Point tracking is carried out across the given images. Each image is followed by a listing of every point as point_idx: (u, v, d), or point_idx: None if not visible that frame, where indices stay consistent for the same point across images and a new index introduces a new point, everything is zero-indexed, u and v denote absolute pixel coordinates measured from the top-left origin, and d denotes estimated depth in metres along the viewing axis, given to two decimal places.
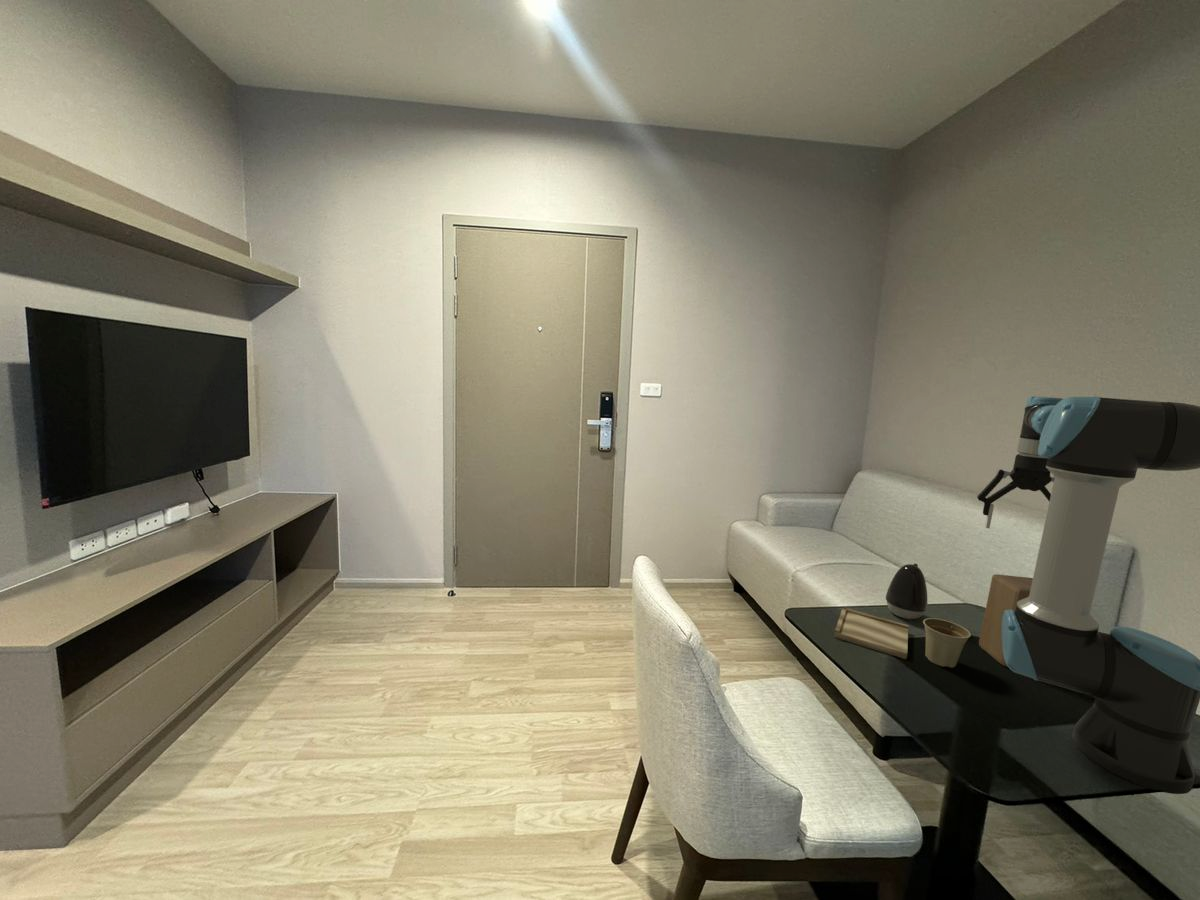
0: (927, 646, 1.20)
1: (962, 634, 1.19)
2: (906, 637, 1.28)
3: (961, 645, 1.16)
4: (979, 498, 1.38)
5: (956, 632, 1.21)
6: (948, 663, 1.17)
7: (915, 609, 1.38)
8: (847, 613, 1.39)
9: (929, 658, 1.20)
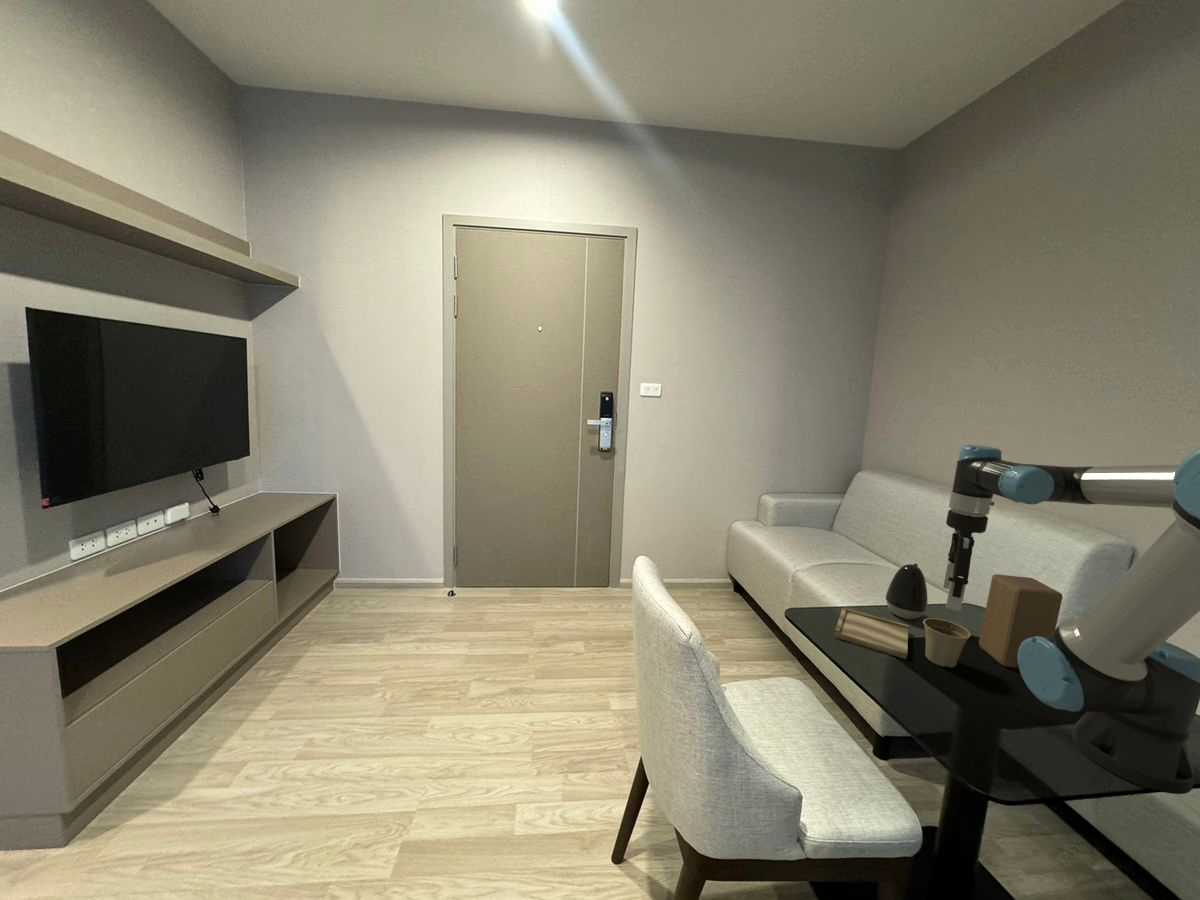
0: (927, 646, 1.20)
1: (962, 634, 1.19)
2: (906, 637, 1.28)
3: (961, 645, 1.16)
4: None
5: (956, 632, 1.21)
6: (948, 663, 1.17)
7: (915, 609, 1.38)
8: (847, 613, 1.39)
9: (929, 658, 1.20)
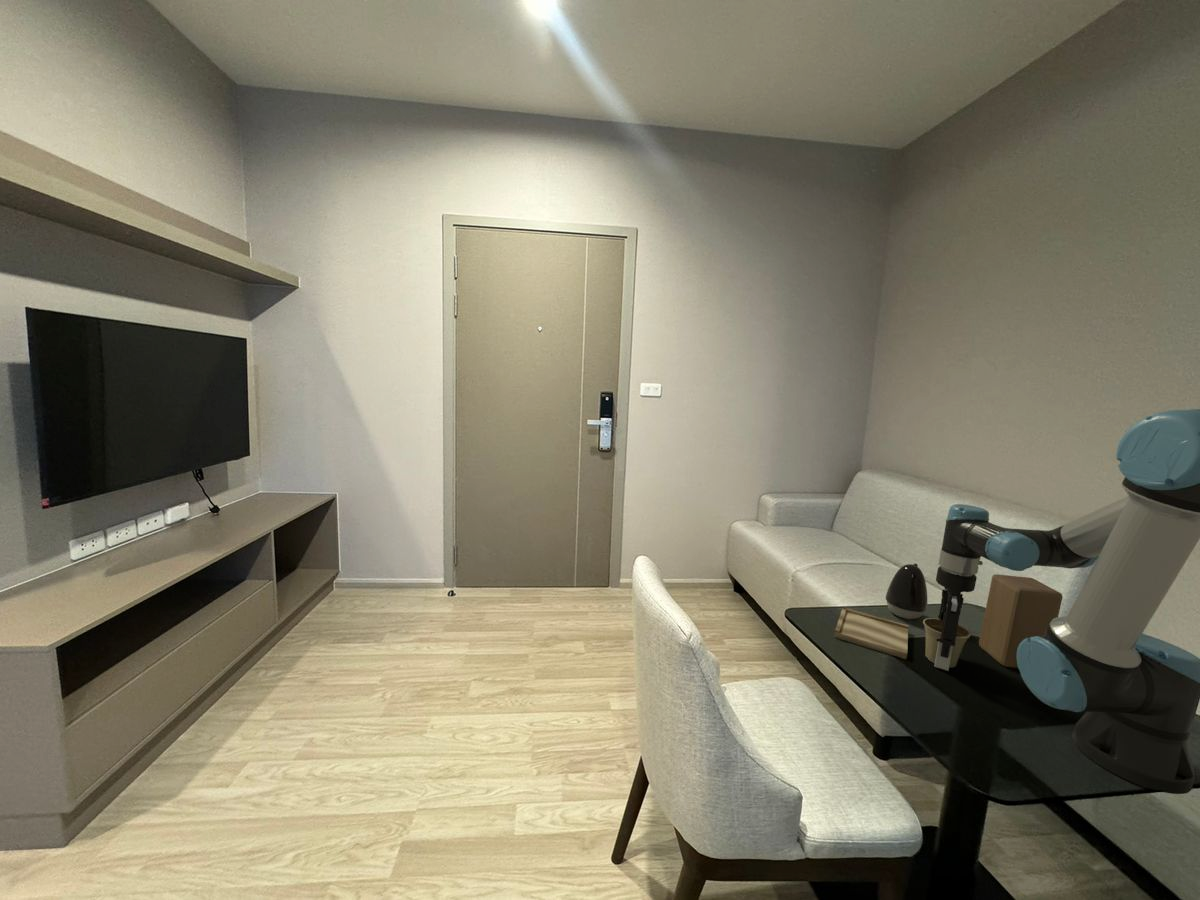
0: (927, 646, 1.20)
1: (962, 634, 1.19)
2: (906, 637, 1.28)
3: (961, 645, 1.16)
4: None
5: None
6: None
7: (915, 609, 1.38)
8: (847, 613, 1.39)
9: (929, 658, 1.20)
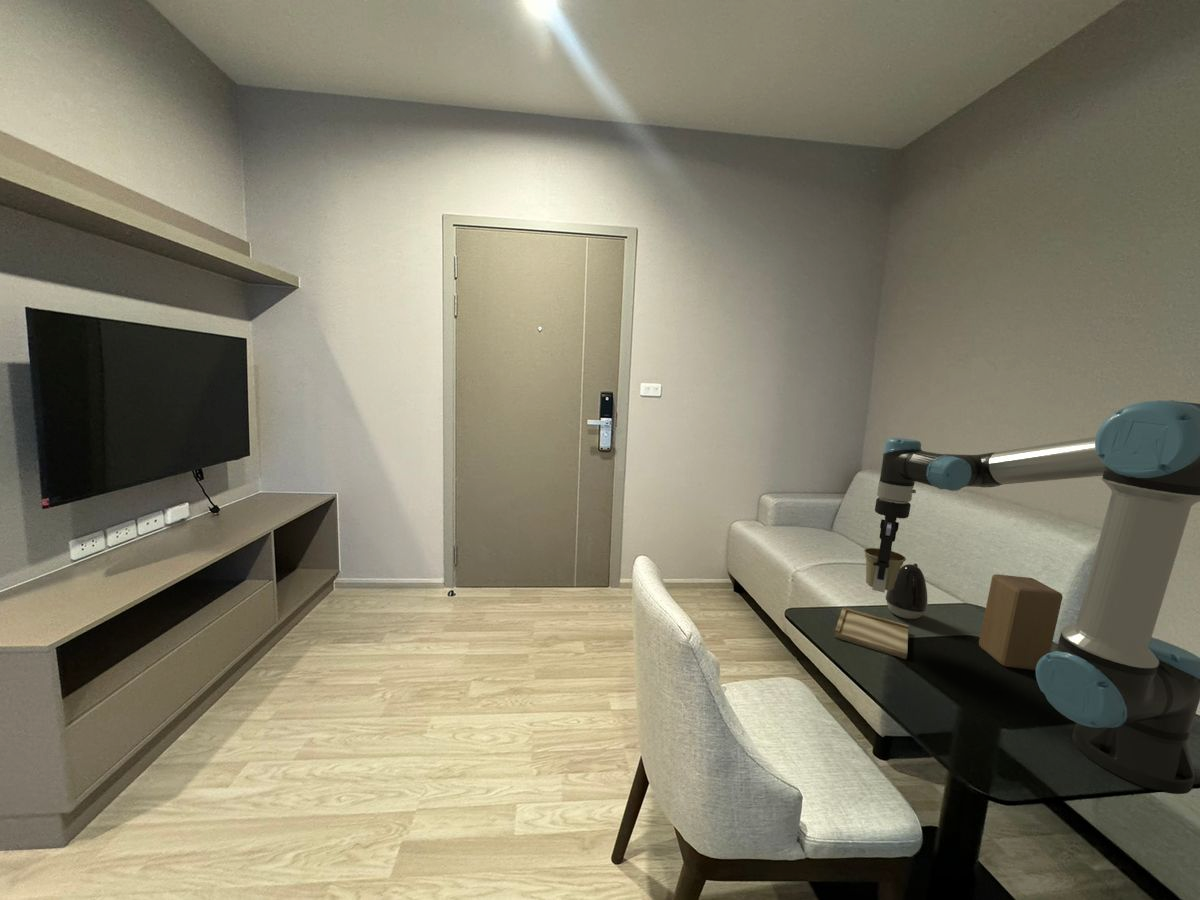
0: (867, 572, 1.29)
1: (900, 560, 1.28)
2: (906, 637, 1.28)
3: (896, 568, 1.24)
4: None
5: (894, 559, 1.29)
6: None
7: (915, 609, 1.38)
8: (847, 613, 1.39)
9: (868, 583, 1.28)
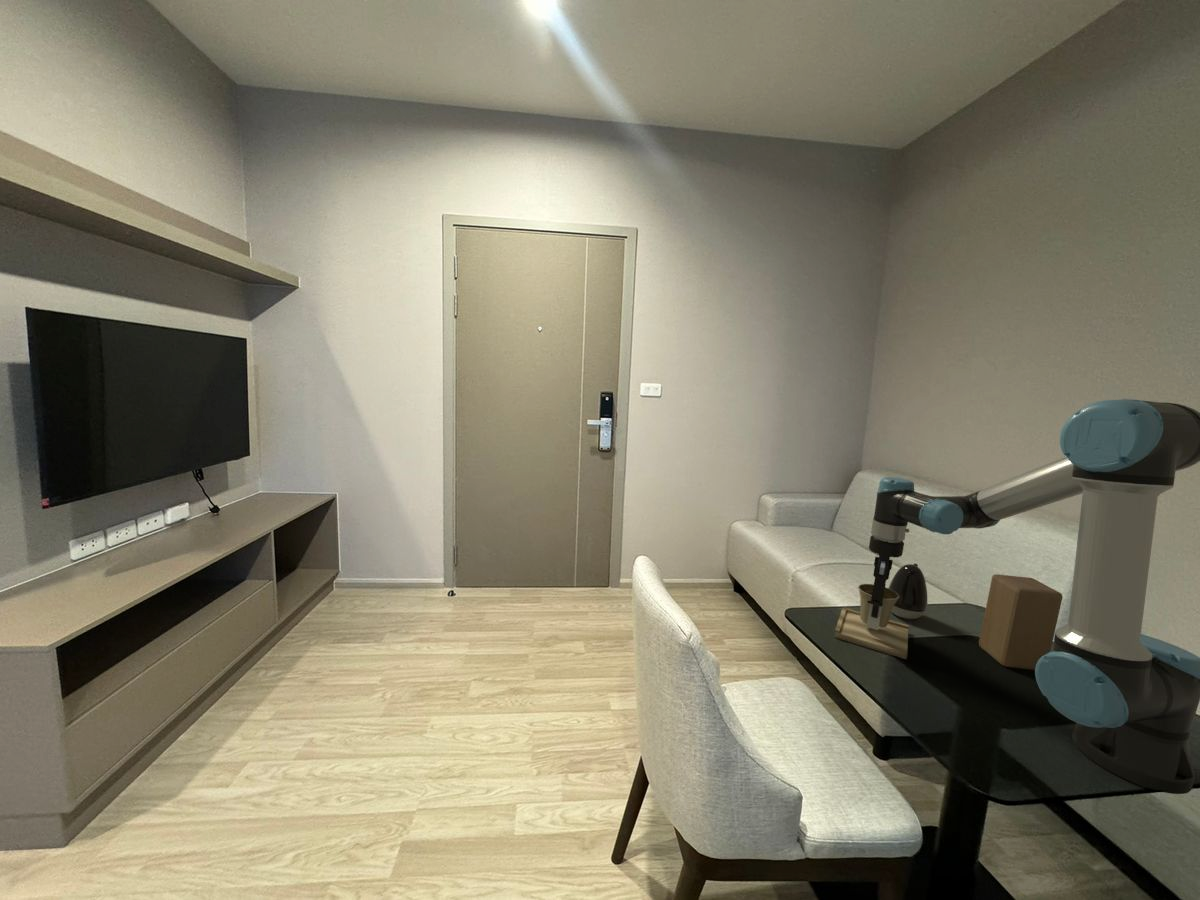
0: (861, 609, 1.30)
1: (893, 597, 1.29)
2: (906, 637, 1.28)
3: (890, 606, 1.26)
4: None
5: (888, 596, 1.31)
6: None
7: (915, 609, 1.38)
8: (847, 613, 1.39)
9: (863, 619, 1.30)
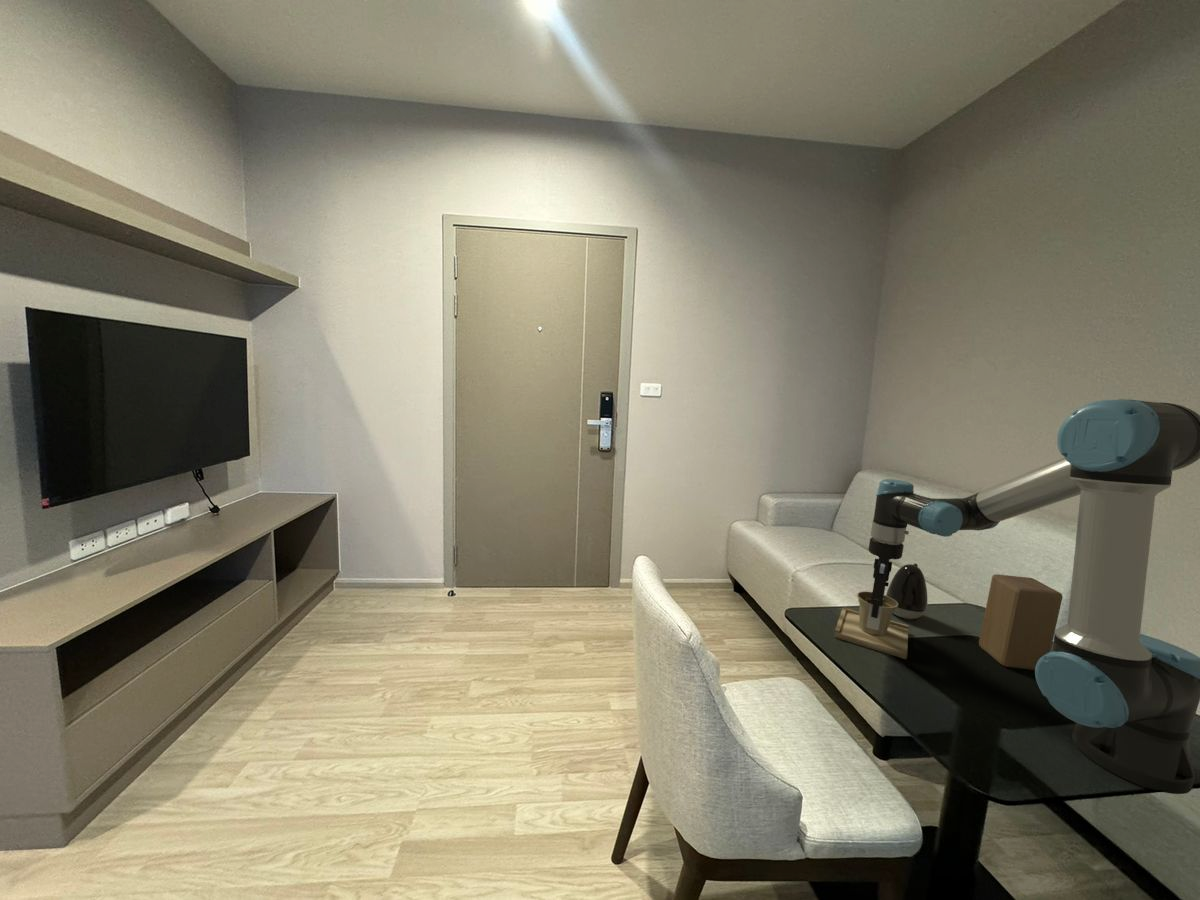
0: (860, 616, 1.30)
1: (892, 605, 1.29)
2: (906, 637, 1.28)
3: (889, 614, 1.26)
4: None
5: (887, 604, 1.31)
6: (877, 631, 1.27)
7: (915, 609, 1.38)
8: (847, 613, 1.39)
9: (861, 627, 1.30)
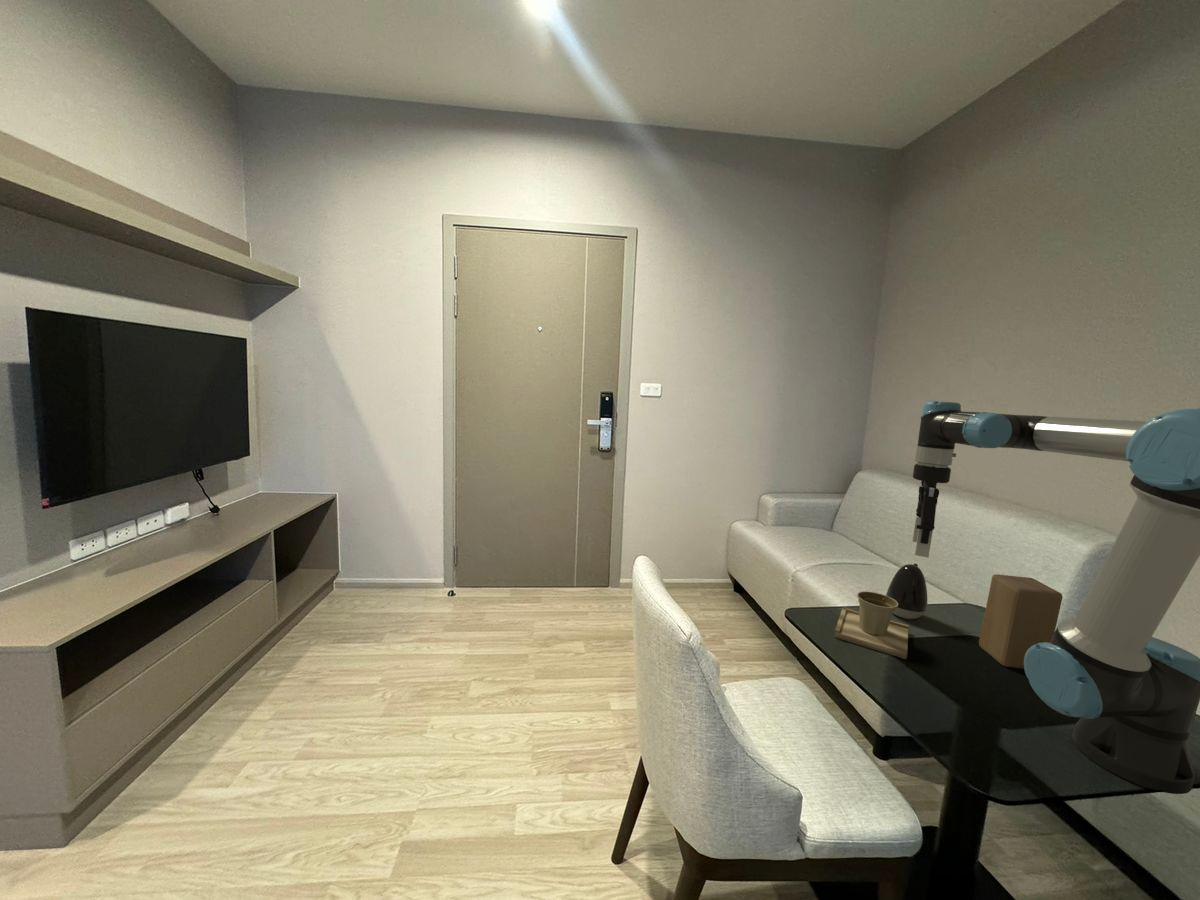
0: (860, 616, 1.30)
1: (892, 605, 1.29)
2: (906, 637, 1.28)
3: (889, 614, 1.26)
4: None
5: (887, 604, 1.31)
6: (877, 631, 1.27)
7: (915, 609, 1.38)
8: (847, 613, 1.39)
9: (861, 627, 1.30)
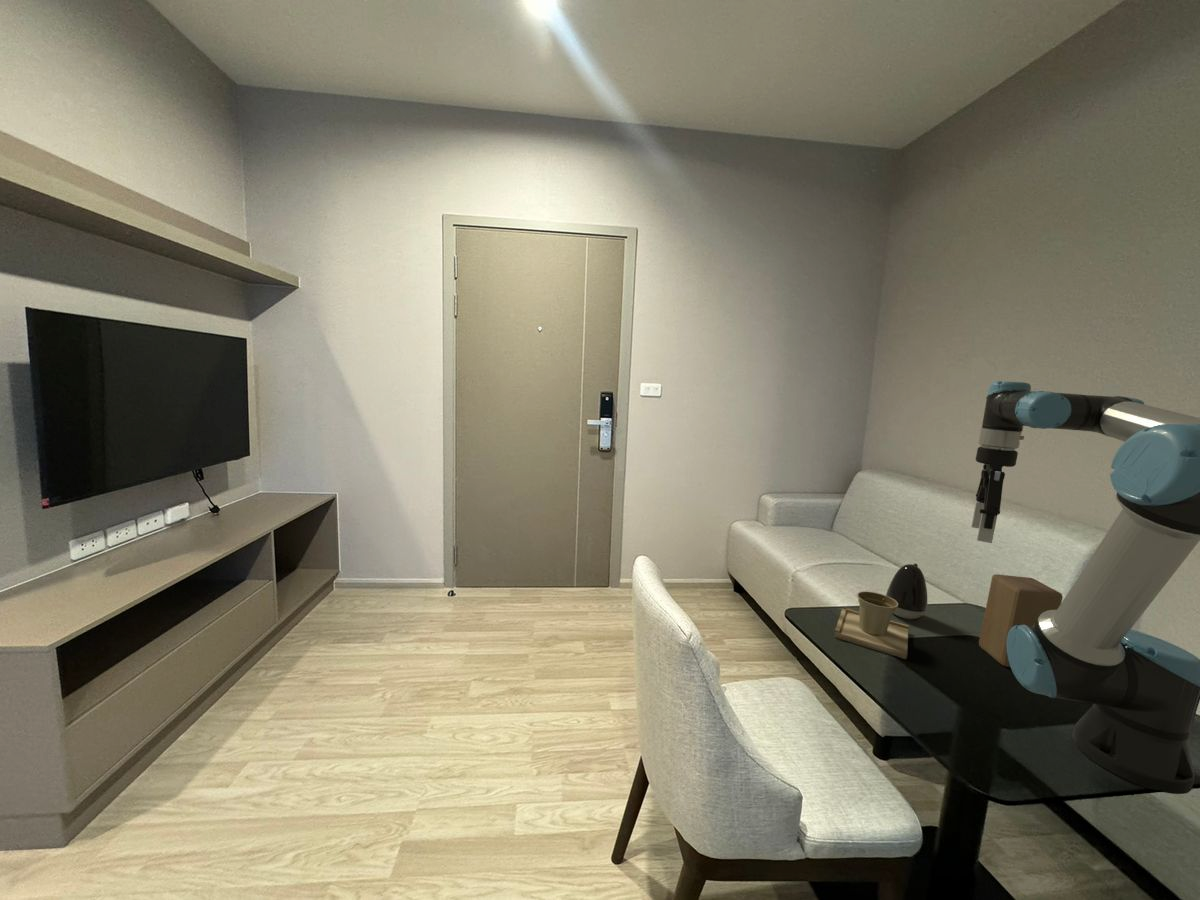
0: (860, 616, 1.30)
1: (892, 605, 1.29)
2: (906, 637, 1.28)
3: (889, 614, 1.26)
4: (976, 495, 1.28)
5: (887, 604, 1.31)
6: (877, 631, 1.27)
7: (915, 609, 1.38)
8: (847, 613, 1.39)
9: (861, 627, 1.30)
